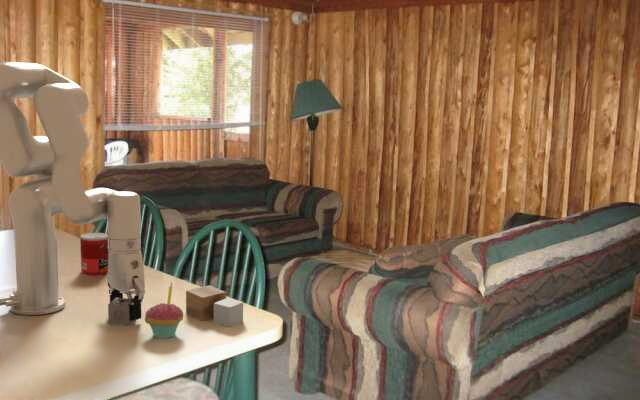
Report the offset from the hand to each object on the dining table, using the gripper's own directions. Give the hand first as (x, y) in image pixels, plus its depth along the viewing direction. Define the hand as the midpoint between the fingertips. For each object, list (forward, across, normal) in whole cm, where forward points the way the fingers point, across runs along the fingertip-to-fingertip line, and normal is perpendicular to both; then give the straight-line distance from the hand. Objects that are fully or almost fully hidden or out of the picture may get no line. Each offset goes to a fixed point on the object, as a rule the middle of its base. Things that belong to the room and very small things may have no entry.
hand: (125, 314), depth 167 cm
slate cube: (+1, -17, -18) cm, 25 cm away
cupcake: (+1, -15, -2) cm, 15 cm away
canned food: (+1, +41, -12) cm, 43 cm away
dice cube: (+1, -1, +1) cm, 2 cm away
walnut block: (+1, -9, -17) cm, 19 cm away
